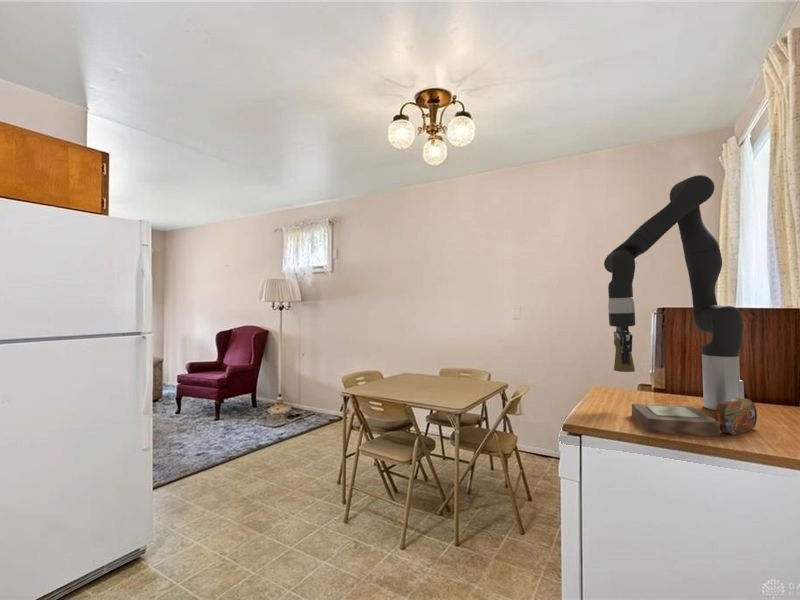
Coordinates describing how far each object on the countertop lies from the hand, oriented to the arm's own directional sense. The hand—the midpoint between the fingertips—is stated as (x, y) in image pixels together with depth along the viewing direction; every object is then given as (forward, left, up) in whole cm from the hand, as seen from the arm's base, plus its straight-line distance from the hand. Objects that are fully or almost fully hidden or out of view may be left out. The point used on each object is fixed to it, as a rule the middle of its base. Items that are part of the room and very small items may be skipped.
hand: (624, 363), depth 126 cm
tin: (-22, +18, -15) cm, 32 cm away
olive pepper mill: (0, 0, -3) cm, 3 cm away
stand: (-8, +16, -15) cm, 23 cm away
